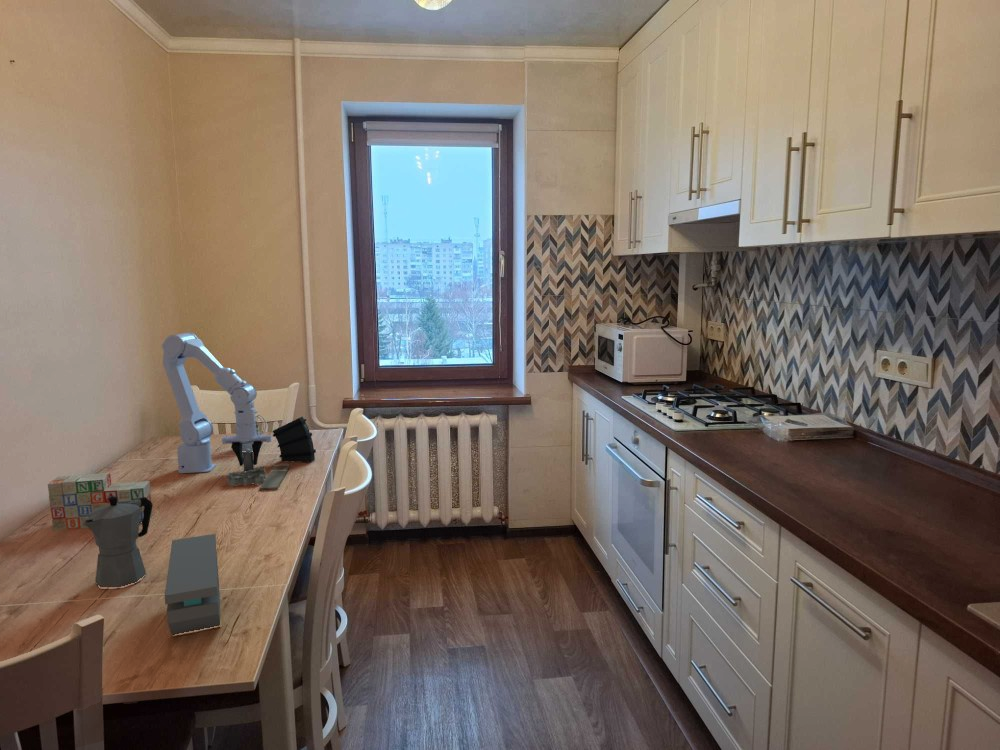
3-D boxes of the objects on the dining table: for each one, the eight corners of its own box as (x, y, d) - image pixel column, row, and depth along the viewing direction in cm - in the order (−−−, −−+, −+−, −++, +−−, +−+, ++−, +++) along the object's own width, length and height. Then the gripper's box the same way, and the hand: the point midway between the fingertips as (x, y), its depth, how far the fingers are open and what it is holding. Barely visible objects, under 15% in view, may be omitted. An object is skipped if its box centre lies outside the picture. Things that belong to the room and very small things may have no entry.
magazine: (320, 458, 223) (299, 417, 222) (287, 473, 225) (266, 434, 224) (324, 455, 227) (304, 415, 225) (291, 470, 229) (271, 431, 228)
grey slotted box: (176, 592, 134) (172, 540, 132) (219, 584, 137) (215, 533, 135) (170, 657, 111) (164, 595, 109) (221, 646, 114) (216, 586, 112)
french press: (243, 444, 248) (238, 377, 244) (272, 445, 246) (268, 378, 242) (228, 451, 238) (223, 382, 234) (259, 452, 237) (255, 382, 233)
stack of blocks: (153, 514, 177) (149, 469, 175) (146, 523, 171) (142, 476, 169) (62, 522, 172) (57, 475, 170) (52, 531, 166) (46, 483, 164)
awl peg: (243, 472, 214) (241, 450, 213) (245, 469, 217) (243, 448, 216) (252, 471, 214) (251, 450, 213) (254, 468, 217) (253, 447, 216)
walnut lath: (259, 490, 195) (259, 487, 195) (274, 467, 219) (274, 464, 218) (277, 489, 196) (277, 486, 196) (290, 466, 219) (290, 463, 219)
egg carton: (267, 478, 208) (266, 465, 207) (263, 486, 201) (262, 472, 200) (230, 480, 206) (230, 467, 206) (225, 488, 199) (224, 474, 198)
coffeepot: (109, 598, 131) (99, 510, 128) (75, 590, 135) (65, 504, 132) (173, 566, 145) (166, 486, 143) (141, 559, 149) (133, 481, 146)
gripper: (218, 427, 208) (221, 469, 210) (267, 425, 210) (269, 466, 212) (224, 422, 215) (227, 463, 217) (271, 420, 217) (273, 460, 219)
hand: (248, 464), depth 215 cm, fingers open, 4 cm apart
